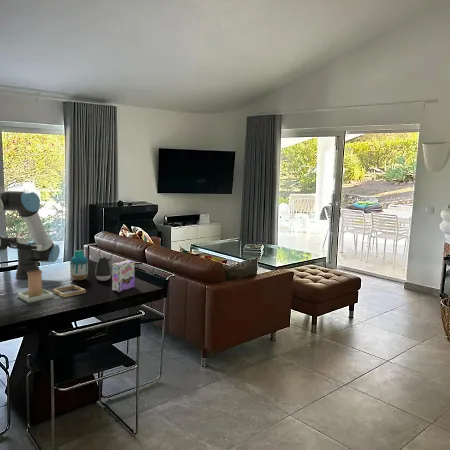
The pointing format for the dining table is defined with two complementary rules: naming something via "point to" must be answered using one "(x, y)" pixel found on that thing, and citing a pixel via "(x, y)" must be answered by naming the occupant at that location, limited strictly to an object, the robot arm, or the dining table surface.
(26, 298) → the green tray
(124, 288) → the candy box
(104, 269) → the pump dispenser
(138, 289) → the dining table surface
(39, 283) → the canister
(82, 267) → the vase
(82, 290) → the oak corral
